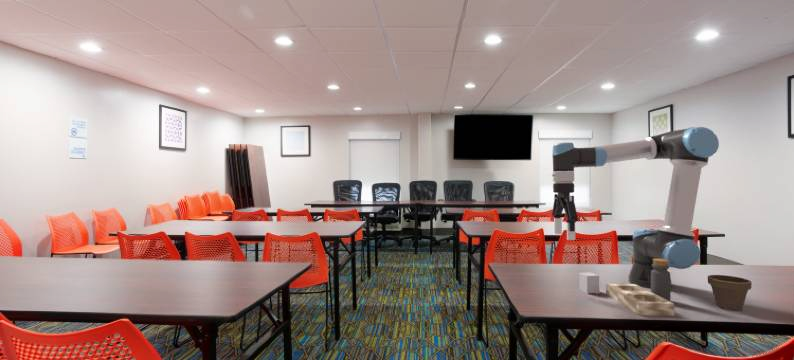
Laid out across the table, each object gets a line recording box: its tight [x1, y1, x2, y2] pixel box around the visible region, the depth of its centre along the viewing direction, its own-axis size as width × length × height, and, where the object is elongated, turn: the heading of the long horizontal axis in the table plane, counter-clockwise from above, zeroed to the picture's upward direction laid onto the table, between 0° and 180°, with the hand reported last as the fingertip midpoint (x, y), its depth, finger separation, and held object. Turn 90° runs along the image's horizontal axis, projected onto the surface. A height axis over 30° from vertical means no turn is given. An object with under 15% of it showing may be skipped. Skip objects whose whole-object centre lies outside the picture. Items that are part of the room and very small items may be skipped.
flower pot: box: [707, 274, 752, 311], centre depth 129 cm, size 12×11×10 cm
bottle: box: [650, 259, 671, 302], centre depth 136 cm, size 6×6×15 cm
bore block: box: [605, 283, 675, 317], centre depth 133 cm, size 11×22×4 cm, turn 176°
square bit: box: [579, 271, 600, 294], centre depth 147 cm, size 5×5×7 cm
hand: (564, 237), depth 145 cm, fingers open, 13 cm apart
